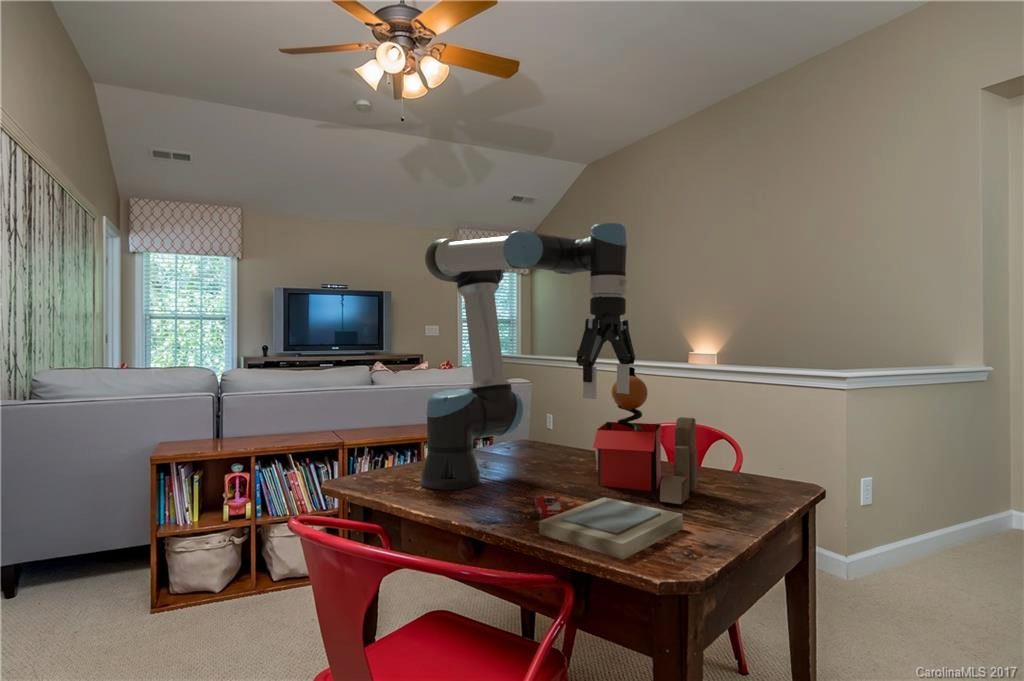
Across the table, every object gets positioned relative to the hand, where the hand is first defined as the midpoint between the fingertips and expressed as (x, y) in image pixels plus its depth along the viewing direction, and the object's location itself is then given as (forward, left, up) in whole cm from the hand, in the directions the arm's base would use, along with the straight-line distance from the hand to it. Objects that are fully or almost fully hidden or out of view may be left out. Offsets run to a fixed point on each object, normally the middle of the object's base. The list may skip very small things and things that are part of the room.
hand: (606, 395), depth 121 cm
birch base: (+8, -11, -25) cm, 28 cm away
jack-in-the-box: (-11, +26, -25) cm, 38 cm away
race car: (-11, -9, -27) cm, 30 cm away
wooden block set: (+6, +21, -25) cm, 33 cm away
